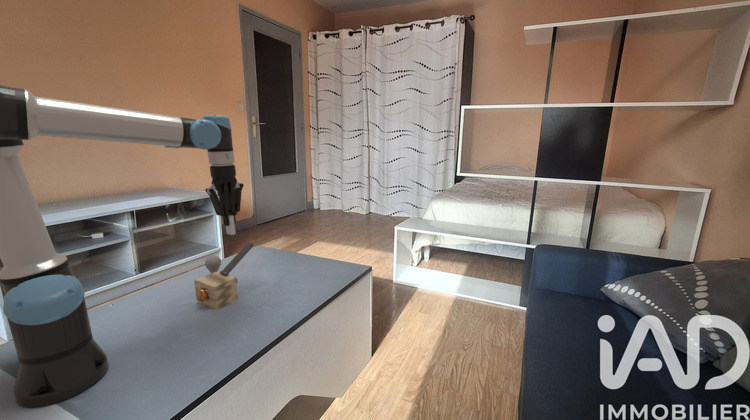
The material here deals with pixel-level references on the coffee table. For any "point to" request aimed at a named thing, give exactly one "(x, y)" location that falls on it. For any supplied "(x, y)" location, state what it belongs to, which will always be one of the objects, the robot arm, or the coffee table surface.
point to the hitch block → (217, 290)
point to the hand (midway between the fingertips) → (231, 233)
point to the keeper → (236, 259)
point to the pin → (204, 293)
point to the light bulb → (213, 263)
